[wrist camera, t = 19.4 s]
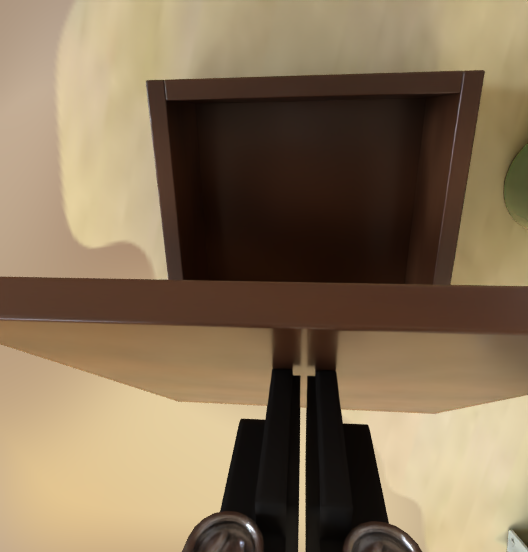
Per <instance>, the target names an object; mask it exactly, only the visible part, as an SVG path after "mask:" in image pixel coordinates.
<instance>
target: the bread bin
mask: <svg viewBox="0 0 528 552" xmlns="http://www.w3.org/2000/svg"><path fill="white" fill-rule="evenodd" d="M484 73H485V71H484V70H474V71H440V72H407V73H374V74H341V75H308V76H274V77H241V78H208V79H175V80H147V81H146V87H147V96H148V105H149V113H150V122H151V131H152V140H153V148H154V157H155V166H156V175H157V183H158V192H159V201H160V210H161V218H162V227H163V236H164V245H165V253H166V262H167V271H168V280H205V281H260V282H314V283H368V284H423V285H450V283H451V277H452V271H453V265H454V259H455V252H456V246H457V240H458V234H459V228H460V221H461V215H462V209H463V203H464V197H465V191H466V184H467V178H468V172H469V166H470V160H471V154H472V147H473V141H474V135H475V129H476V123H477V116H478V110H479V104H480V98H481V92H482V86H483V79H484Z"/></svg>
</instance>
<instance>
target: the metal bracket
mask: <svg viewBox="0 0 528 552" xmlns="http://www.w3.org/2000/svg"><path fill="white" fill-rule="evenodd" d="M507 552H528V548H527V546H526V545H525V544H524V543H523V542H522V540H521V539H520V538H519V537H518V536H517V534H516V533H515V532H514V531H513V530H512V529H511V530H509V532H508V545H507Z"/></svg>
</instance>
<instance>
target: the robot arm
mask: <svg viewBox="0 0 528 552" xmlns="http://www.w3.org/2000/svg"><path fill="white" fill-rule="evenodd" d="M300 381H301V375H293V370H290V369H272V374H271V382H270V389H269V397H268V405H267V412H266V420H258V419H241V420H240V423H239V427H238V431H237V436H236V441H235V445H234V450H233V455H232V460H231V464H230V468H229V473H228V478H227V483H226V487H225V492H224V496H223V501H222V506H221V510H220V512H219V513H214V514H212V515H210V516H208V517H206V518H204V519H203V520H202V521H201V522H200V523H199V524H198V525H196V526H195V527H194V529H193V531H192V532H191V534H190V535H189V537H188V539H187V541H186V544H185V546H184V548H183V550H182V552H298V525H299V524H298V523H299V522H298V521H299V464H300ZM306 412H307V413H306V552H422V551H421V549H420V548H419V546H418V544H417V543H416V542H415V541H414V540H413V539H412V538H411V537H410V536H409V535H408V534H407V533H406V532H404V531H403V530H401V529H399V528H398V527H396V526H394V525H391V524H389V522H388V517H387V513H386V507H385V502H384V498H383V493H382V488H381V483H380V478H379V474H378V468H377V463H376V458H375V454H374V449H373V444H372V439H371V434H370V430H369V426H368V425H364V424H343V422H342V414H341V406H340V398H339V389H338V381H337V373H336V371H317V370H315V376H307V411H306Z"/></svg>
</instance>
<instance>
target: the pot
mask: <svg viewBox="0 0 528 552" xmlns="http://www.w3.org/2000/svg"><path fill="white" fill-rule="evenodd" d="M504 199H505V204H506V207H507V209H508V211H509V213H510V215H511V216H512V218H513V219H514V220H515V221H516V222H517V223H518V224H519V225H521V226H522V227H524V228H526V229H527V230H528V143H527V144H526V145H525V146H524V147H523V148H522V149H521V151H520V152H519V153H518V154H517V156H516V157H515V158H514V160H513V162H512V164H511V165H510V167H509V170H508V172H507V175H506V179H505V184H504Z"/></svg>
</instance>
